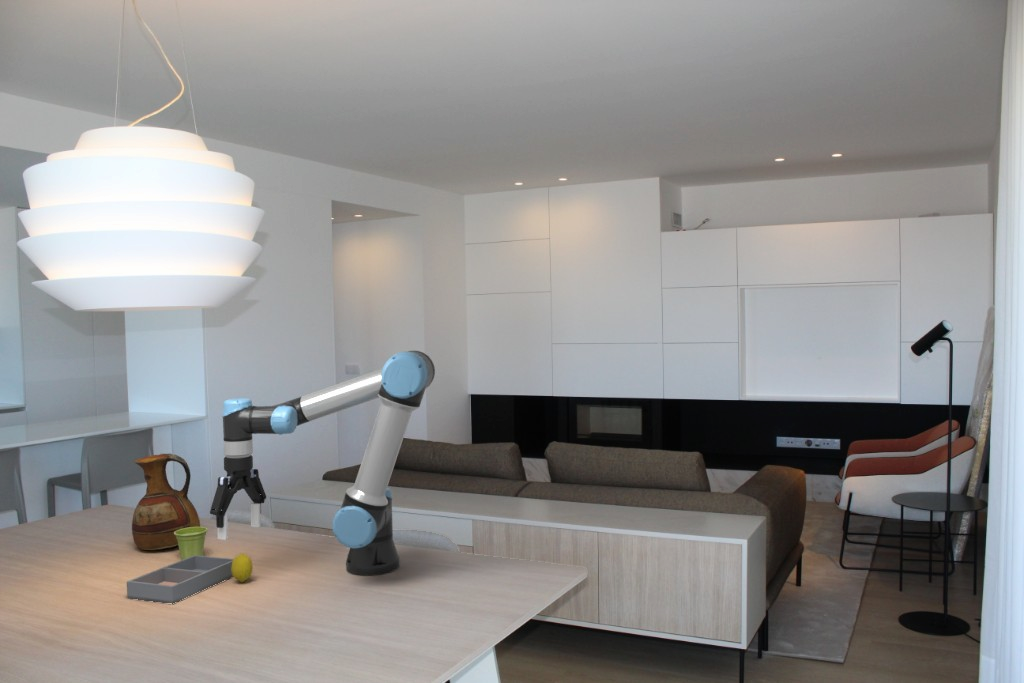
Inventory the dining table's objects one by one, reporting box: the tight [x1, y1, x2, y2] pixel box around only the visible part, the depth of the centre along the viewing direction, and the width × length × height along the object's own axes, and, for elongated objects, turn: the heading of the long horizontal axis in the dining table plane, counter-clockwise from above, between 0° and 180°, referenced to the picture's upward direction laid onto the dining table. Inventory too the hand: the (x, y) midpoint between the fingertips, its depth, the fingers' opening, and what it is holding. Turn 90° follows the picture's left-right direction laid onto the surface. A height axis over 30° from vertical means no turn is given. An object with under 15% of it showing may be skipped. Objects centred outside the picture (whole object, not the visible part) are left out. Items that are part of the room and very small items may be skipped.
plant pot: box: [174, 526, 208, 561], centre depth 247 cm, size 9×9×9 cm
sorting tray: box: [126, 555, 234, 605], centre depth 221 cm, size 15×25×4 cm, turn 159°
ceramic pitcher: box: [131, 453, 201, 551], centre depth 262 cm, size 20×20×30 cm
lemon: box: [231, 553, 254, 583], centre depth 223 cm, size 6×6×8 cm
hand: (239, 532), depth 223 cm, fingers open, 13 cm apart
